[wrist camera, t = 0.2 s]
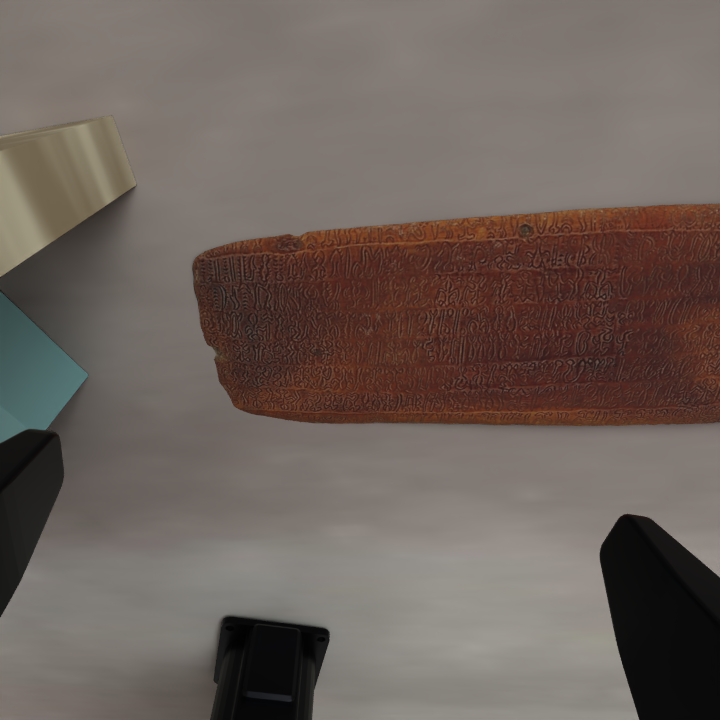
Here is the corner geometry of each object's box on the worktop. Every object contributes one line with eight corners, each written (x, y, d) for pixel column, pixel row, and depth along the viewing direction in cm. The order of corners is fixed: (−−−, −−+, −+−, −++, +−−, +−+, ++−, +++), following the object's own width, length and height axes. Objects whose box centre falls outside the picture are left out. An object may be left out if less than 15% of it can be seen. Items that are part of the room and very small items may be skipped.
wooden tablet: (864, 194, 22) (901, 205, 20) (775, 406, 27) (799, 426, 25) (182, 212, 22) (170, 224, 20) (221, 420, 27) (213, 442, 25)
